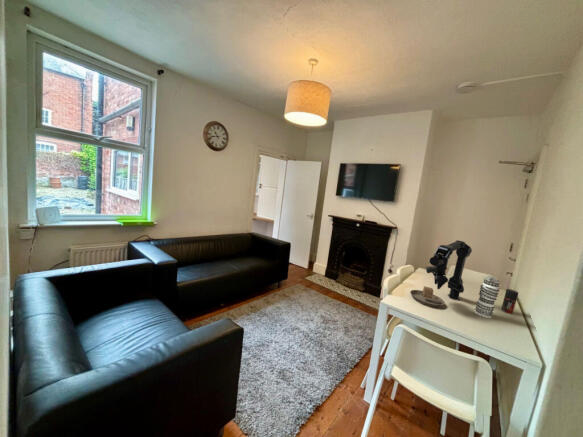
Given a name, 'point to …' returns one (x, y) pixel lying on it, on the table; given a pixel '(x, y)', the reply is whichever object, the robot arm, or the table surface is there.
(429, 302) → the plant saucer
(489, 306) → the decorative candle
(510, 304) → the deodorant
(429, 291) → the walnut block
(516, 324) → the table surface
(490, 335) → the table surface
